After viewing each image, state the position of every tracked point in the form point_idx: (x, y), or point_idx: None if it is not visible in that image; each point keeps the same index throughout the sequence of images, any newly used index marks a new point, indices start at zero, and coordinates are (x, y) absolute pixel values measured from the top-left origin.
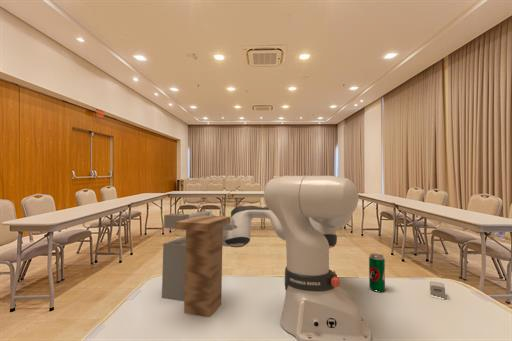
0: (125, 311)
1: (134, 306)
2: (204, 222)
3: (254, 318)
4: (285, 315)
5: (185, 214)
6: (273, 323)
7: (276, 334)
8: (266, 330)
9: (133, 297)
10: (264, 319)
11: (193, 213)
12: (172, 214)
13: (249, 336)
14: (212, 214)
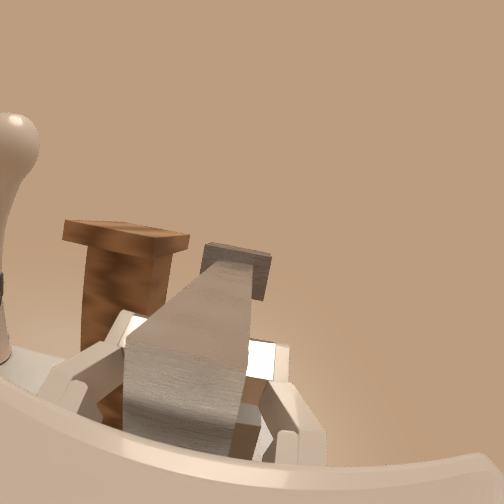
0: (262, 418)
1: (261, 429)
2: (133, 224)
3: (35, 377)
4: (6, 338)
5: (216, 246)
6: (16, 363)
7: (24, 351)
8: (32, 357)
9: None
10: (23, 371)
11: (249, 287)
12: (259, 253)
13: (56, 357)
14: (110, 332)
